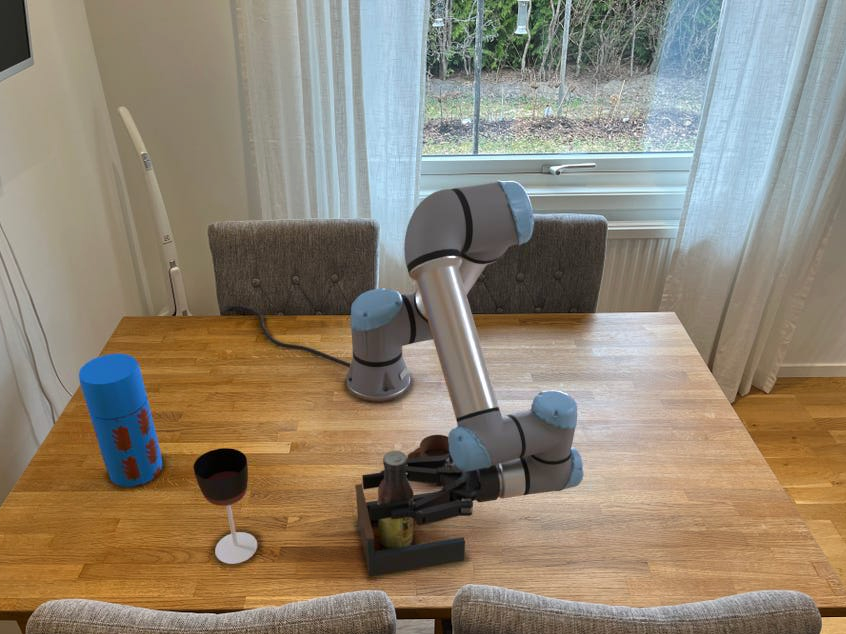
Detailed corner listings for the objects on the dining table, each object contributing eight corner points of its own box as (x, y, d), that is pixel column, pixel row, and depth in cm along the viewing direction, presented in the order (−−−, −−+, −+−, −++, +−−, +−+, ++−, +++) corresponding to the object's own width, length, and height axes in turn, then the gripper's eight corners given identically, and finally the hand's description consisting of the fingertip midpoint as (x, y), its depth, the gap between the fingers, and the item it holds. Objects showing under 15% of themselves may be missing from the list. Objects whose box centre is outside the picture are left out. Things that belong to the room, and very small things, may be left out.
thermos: (173, 458, 151) (150, 358, 137) (142, 492, 142) (114, 389, 129) (130, 448, 154) (103, 349, 140) (97, 480, 145) (64, 378, 132)
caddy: (445, 508, 138) (446, 471, 132) (464, 561, 127) (466, 522, 122) (357, 522, 135) (355, 484, 130) (368, 577, 124) (367, 538, 119)
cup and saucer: (426, 497, 140) (426, 473, 137) (398, 461, 149) (397, 438, 146) (478, 477, 145) (479, 454, 142) (447, 443, 154) (448, 421, 151)
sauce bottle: (409, 559, 127) (409, 474, 117) (375, 553, 128) (372, 469, 118) (416, 532, 133) (416, 449, 122) (383, 527, 134) (381, 444, 123)
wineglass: (214, 532, 133) (197, 449, 122) (262, 529, 133) (249, 446, 123) (208, 566, 126) (189, 481, 115) (258, 562, 127) (244, 478, 116)
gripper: (511, 534, 120) (377, 556, 117) (477, 458, 137) (358, 475, 133) (515, 501, 116) (376, 523, 113) (479, 427, 133) (356, 443, 129)
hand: (366, 497), depth 123 cm, fingers open, 7 cm apart
